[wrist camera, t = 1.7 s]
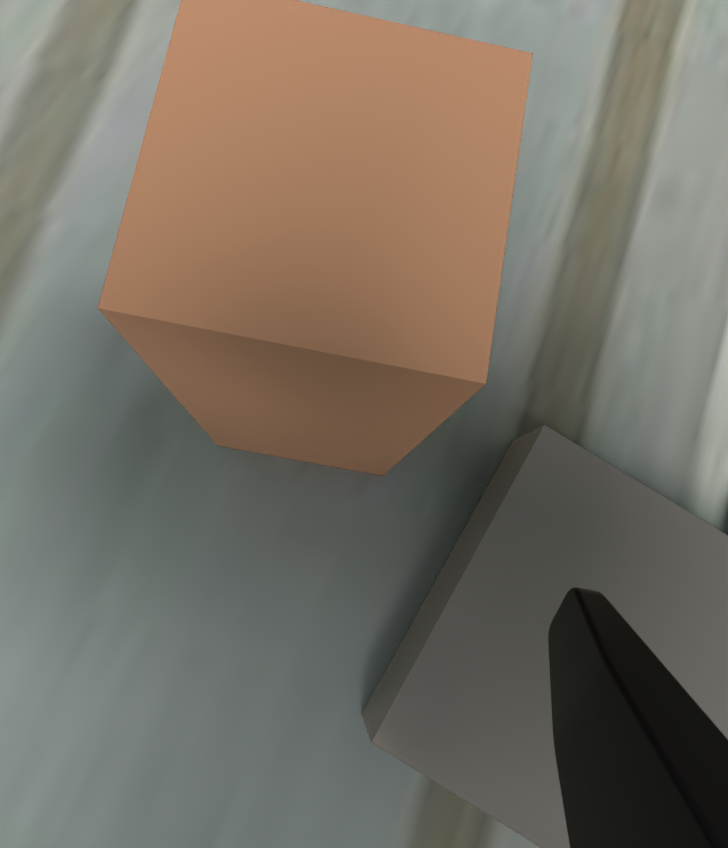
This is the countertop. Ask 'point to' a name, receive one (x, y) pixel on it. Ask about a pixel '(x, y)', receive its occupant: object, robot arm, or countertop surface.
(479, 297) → the tall block
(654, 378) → the countertop surface
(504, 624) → the plinth
